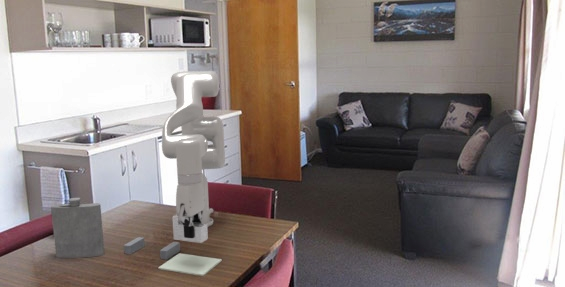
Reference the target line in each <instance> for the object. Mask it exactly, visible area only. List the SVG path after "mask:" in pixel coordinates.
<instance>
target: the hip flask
mask: <svg viewBox="0 0 565 287" xmlns="http://www.w3.org/2000/svg"><path fill="white" fill-rule="evenodd" d="M50 210H51V211H52V214H51V221H52V220H53V224H52V231H53V230H54V233H53V240H54V249H55V256H56V258H61V259H63V258H65V259H67V258H69V259H70V258H71V259H72V258H76V259H77V258H92V257H100V256H104V255H105V253H106V252H105V244H104V233H103V230H104V229H103V219H102V208H101V203H100V202H95V203H84V204H83V203H82V204H81V197H72V198H69V199H68V203H61V204H54V205H51V206H50ZM51 211H50V212H51Z"/></svg>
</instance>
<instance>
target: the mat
mask: <svg viewBox="0 0 565 287" xmlns="http://www.w3.org/2000/svg"><path fill="white" fill-rule="evenodd" d="M222 261H223V260H222V259H221V258H215V257H209V256H208V257H207V256H201V255H195V254H194V255H193V254H187V253H180V252H178V253H176V254H175V255H174V256H172V257H171V258H169V259H168V260H167V261H165V262H164V263H163V264H162V265H160V266H159V267H158V270H162V271H168V272H169V271H170V272H176V273H181V274H188V275H194V276H200V277H204V276H206V274H208V273H209V272H210V271H211V270H212V269H214V268H215V267H216V266H217V265H218V264H220V263H221V262H222Z"/></svg>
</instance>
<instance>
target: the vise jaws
mask: <svg viewBox="0 0 565 287" xmlns="http://www.w3.org/2000/svg"><path fill="white" fill-rule="evenodd" d="M145 242H146V241H145V237H140V236H137V237H136V238H134V239H132V240H131V241H129V242H127V243H125V244H123V253H124V254H126V255H132V254H134V253H135V252H136V251H139V250H141V249H142V248H144V247H145V246H146V243H145ZM180 252H181V244H180V241H172V242H171V243H169V244H168V245H166V246H164V247H163V248H162V249H160V250H159V254H160V256H159V257H160V259H161V260H165V261H166V260H167V261H169V260H170V259H172V258H173V257H174V256H176V255H177V254H179V253H180Z"/></svg>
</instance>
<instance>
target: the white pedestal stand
mask: <svg viewBox="0 0 565 287" xmlns="http://www.w3.org/2000/svg"><path fill="white" fill-rule="evenodd" d="M178 218H179V216H177V214H176V213H175V214H174V215H172V233H173V235H172V236H173V240H176V241H183V242H191V243H199V244H202V243H204V242H205V241H207V240H208V238H209V237H208V234H209V233H208V232H209V230H208V227H207V223H199V222H192V226H193V228H194V238H185V237H184V226H183V225H182V223H181V222H180V221H178Z"/></svg>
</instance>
